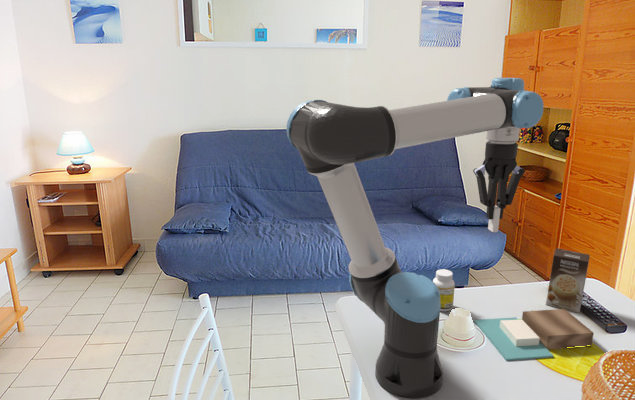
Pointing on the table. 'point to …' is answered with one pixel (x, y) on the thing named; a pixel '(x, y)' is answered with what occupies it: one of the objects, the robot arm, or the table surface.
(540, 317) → the wooden block
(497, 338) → the mat
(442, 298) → the pill bottle
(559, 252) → the coffee box
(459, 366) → the table surface
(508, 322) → the cream flat block
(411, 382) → the robot arm
